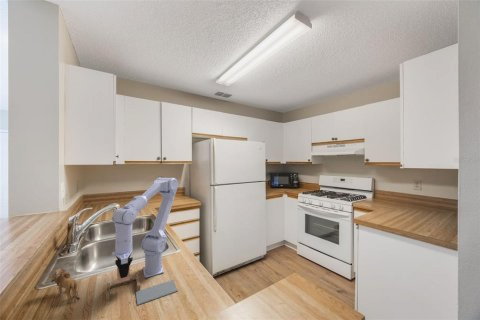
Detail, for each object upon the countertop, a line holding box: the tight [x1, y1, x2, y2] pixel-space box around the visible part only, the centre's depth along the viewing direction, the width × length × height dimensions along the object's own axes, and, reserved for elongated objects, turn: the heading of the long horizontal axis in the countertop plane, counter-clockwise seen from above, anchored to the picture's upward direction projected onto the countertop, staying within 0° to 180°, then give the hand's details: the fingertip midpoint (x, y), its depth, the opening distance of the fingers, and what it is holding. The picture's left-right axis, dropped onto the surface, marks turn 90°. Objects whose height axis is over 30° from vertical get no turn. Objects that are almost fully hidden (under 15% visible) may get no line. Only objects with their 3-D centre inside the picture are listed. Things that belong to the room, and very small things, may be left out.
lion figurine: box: [48, 268, 81, 304], centre depth 72 cm, size 15×5×9 cm, turn 71°
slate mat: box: [135, 279, 178, 306], centre depth 74 cm, size 8×14×1 cm, turn 122°
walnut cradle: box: [105, 274, 141, 303], centre depth 76 cm, size 9×11×2 cm
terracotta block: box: [116, 266, 131, 284], centre depth 75 cm, size 4×4×6 cm
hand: (123, 273), depth 75 cm, fingers closed on terracotta block, 4 cm apart
